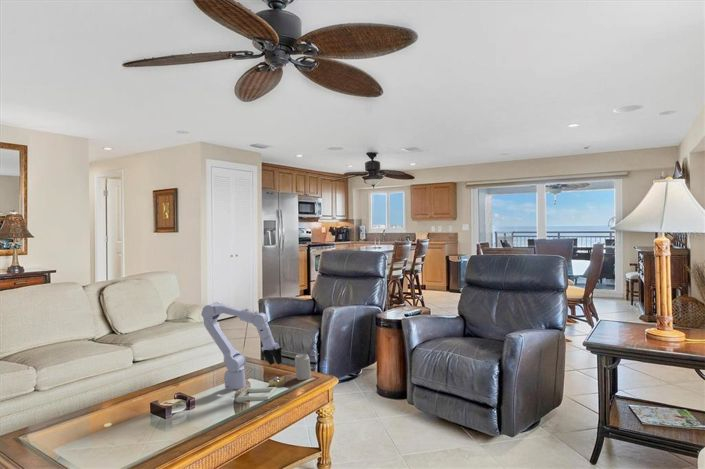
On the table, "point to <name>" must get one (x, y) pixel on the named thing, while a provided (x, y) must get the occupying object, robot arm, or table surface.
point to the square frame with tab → (277, 382)
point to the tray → (242, 398)
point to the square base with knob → (277, 380)
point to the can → (302, 367)
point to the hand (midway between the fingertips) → (276, 363)
